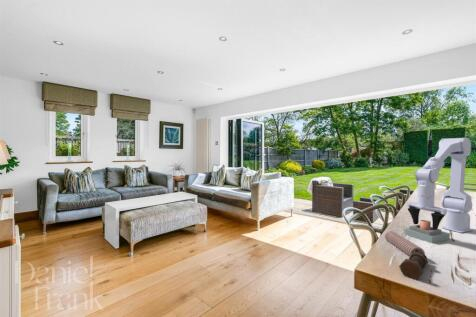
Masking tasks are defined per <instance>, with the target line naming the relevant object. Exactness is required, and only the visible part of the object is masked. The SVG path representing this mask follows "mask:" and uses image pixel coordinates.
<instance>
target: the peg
mask: <svg viewBox="0 0 476 317" xmlns="http://www.w3.org/2000/svg"><path fill="white" fill-rule="evenodd" d="M419 225H420V228H421V229H424V230H430V229H431V227H432V226H431V225H432V224H431V221H430V220H425V219H421V220H419Z"/></svg>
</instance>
